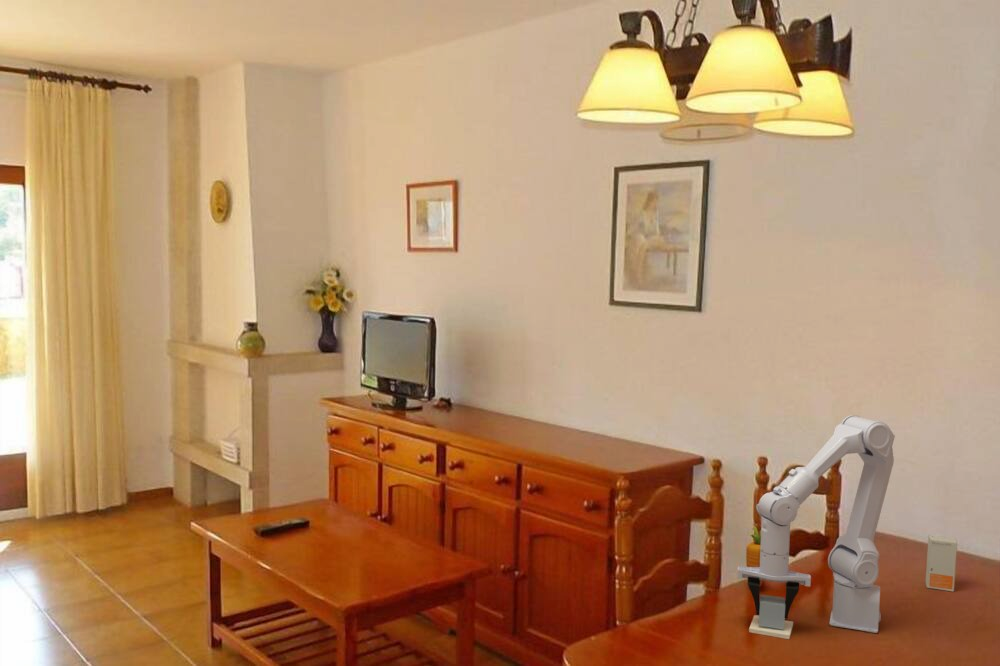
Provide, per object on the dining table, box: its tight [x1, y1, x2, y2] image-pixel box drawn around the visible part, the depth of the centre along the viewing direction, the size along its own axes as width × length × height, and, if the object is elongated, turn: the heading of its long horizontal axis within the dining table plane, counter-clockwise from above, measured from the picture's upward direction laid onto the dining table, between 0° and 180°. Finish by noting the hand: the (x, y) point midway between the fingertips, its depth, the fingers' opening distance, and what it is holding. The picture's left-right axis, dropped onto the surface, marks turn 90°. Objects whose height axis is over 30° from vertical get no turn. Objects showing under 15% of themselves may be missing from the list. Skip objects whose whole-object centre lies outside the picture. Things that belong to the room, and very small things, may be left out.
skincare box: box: [925, 535, 958, 593], centre depth 213 cm, size 6×4×12 cm
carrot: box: [745, 526, 764, 587], centre depth 208 cm, size 5×5×15 cm
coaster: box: [748, 614, 794, 640], centre depth 185 cm, size 8×8×1 cm
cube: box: [758, 594, 786, 629], centre depth 185 cm, size 5×5×5 cm
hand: (771, 615), depth 185 cm, fingers closed on cube, 5 cm apart
